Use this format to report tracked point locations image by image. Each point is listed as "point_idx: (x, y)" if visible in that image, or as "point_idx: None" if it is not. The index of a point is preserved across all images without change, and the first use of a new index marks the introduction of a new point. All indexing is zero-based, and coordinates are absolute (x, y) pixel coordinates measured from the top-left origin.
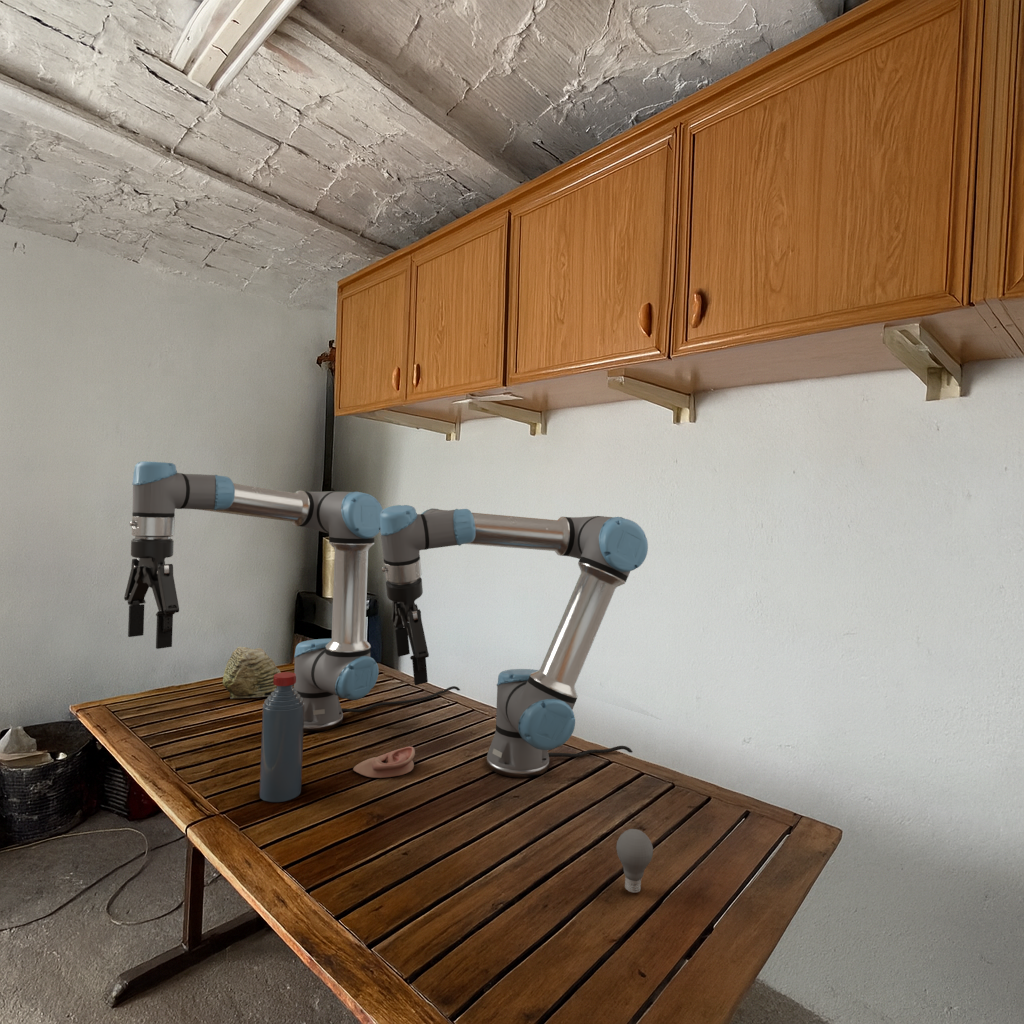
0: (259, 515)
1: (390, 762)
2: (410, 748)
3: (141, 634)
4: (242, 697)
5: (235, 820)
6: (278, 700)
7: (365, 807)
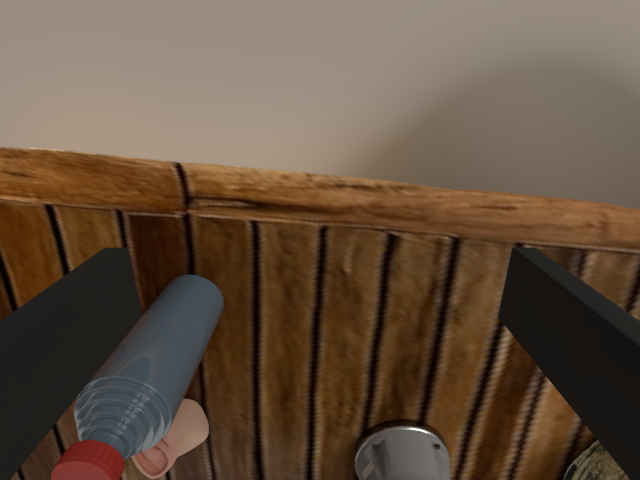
0: None
1: None
2: (154, 474)
3: (501, 310)
4: None
5: (150, 218)
6: (92, 409)
7: None
